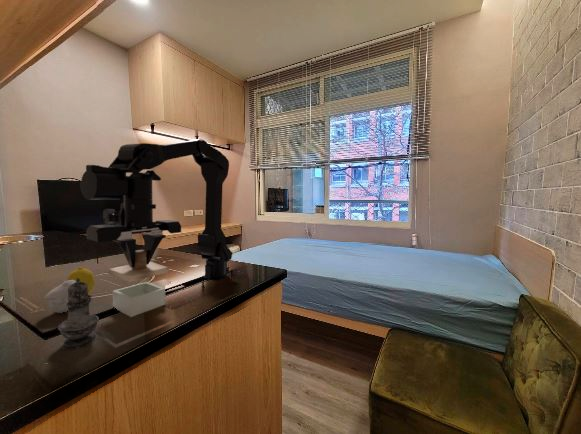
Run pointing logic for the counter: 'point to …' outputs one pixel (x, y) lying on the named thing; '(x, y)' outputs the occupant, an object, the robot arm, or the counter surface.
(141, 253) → the lid
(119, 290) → the dish
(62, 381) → the counter surface
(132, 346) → the counter surface
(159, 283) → the mat
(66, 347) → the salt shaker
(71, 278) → the lemon
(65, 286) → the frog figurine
